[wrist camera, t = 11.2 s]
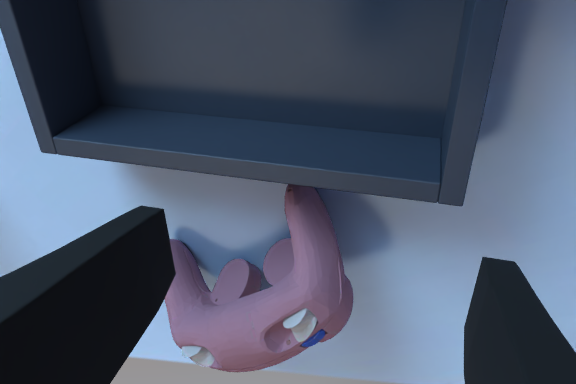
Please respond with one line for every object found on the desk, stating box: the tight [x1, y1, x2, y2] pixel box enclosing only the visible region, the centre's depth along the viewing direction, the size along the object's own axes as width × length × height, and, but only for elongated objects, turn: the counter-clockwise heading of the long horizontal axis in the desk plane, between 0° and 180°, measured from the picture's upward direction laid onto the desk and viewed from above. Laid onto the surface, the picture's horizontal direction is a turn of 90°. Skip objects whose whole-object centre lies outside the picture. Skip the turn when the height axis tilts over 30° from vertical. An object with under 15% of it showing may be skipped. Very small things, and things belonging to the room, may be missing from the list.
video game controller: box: [164, 184, 353, 372], centre depth 22 cm, size 10×5×7 cm, turn 125°
